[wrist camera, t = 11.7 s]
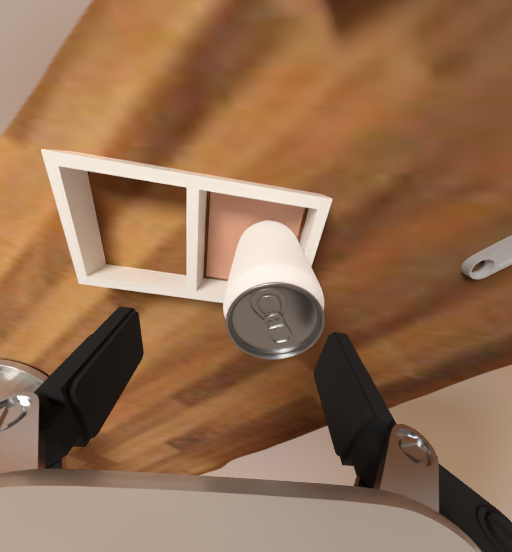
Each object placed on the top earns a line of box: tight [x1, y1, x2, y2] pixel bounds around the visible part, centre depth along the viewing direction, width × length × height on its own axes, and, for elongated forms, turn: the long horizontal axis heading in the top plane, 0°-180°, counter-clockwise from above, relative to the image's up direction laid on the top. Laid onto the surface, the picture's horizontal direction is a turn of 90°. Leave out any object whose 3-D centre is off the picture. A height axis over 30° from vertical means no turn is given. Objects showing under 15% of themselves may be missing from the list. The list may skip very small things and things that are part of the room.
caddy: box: [41, 149, 333, 303], centre depth 21 cm, size 12×23×3 cm, turn 81°
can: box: [223, 220, 325, 360], centre depth 17 cm, size 6×6×12 cm
